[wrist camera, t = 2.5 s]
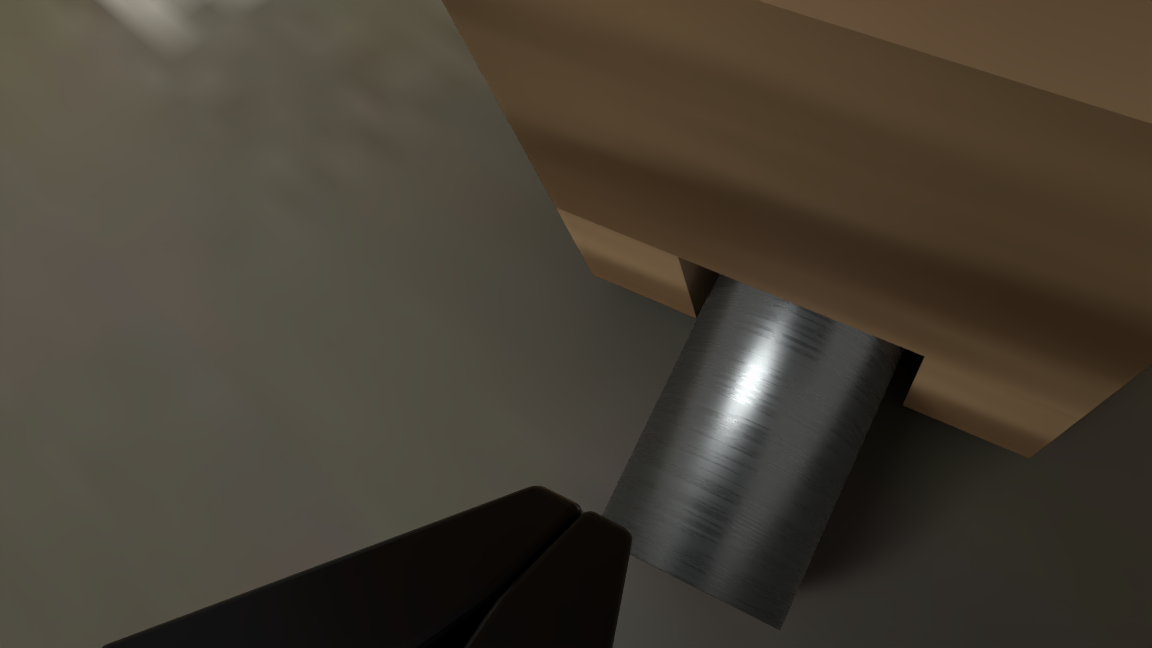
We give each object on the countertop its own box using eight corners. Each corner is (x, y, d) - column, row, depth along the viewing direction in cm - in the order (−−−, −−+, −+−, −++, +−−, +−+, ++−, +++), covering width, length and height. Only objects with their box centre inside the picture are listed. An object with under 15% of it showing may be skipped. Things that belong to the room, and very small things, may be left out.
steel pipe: (787, 634, 16) (785, 632, 13) (606, 542, 17) (566, 521, 14) (1145, -179, 19) (1212, -332, 16) (973, -218, 20) (1005, -371, 17)
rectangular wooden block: (1029, 458, 16) (1372, 193, 6) (592, 274, 18) (375, -119, 9) (1121, 233, 16) (1553, -305, 7) (690, 83, 19) (586, -473, 9)
